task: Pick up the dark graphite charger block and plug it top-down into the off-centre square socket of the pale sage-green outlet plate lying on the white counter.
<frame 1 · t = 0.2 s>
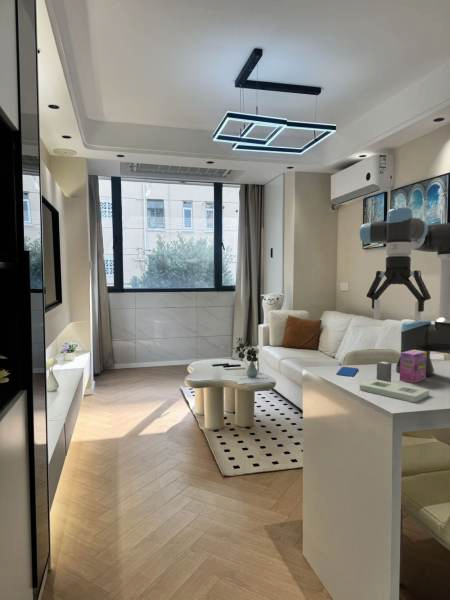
hand: (396, 320, 130), 28 cm above the table, fingers open, 13 cm apart
box: (412, 380, 161), on the table
outlet plate: (393, 392, 142), on the table
smartphone: (347, 373, 174), on the table
charger: (383, 382, 156), on the table
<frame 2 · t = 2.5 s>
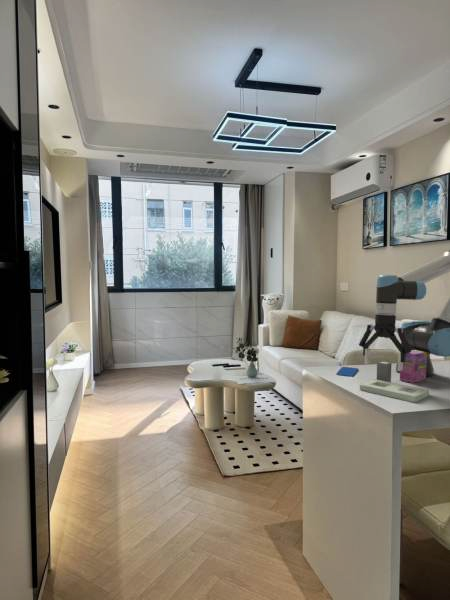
hand: (383, 367, 156), 6 cm above the table, fingers open, 13 cm apart
box: (412, 380, 161), on the table, touching arm
everything else where it was.
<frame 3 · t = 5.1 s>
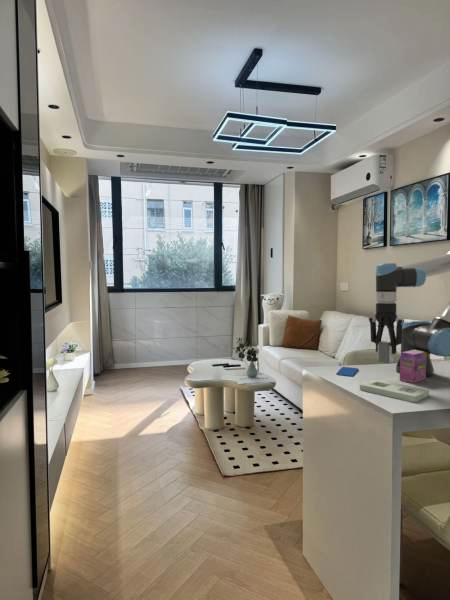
hand: (385, 360, 156), 9 cm above the table, fingers closed on charger, 4 cm apart
charger: (385, 361, 156), point 8 cm above the table, touching gripper
everything else where it was.
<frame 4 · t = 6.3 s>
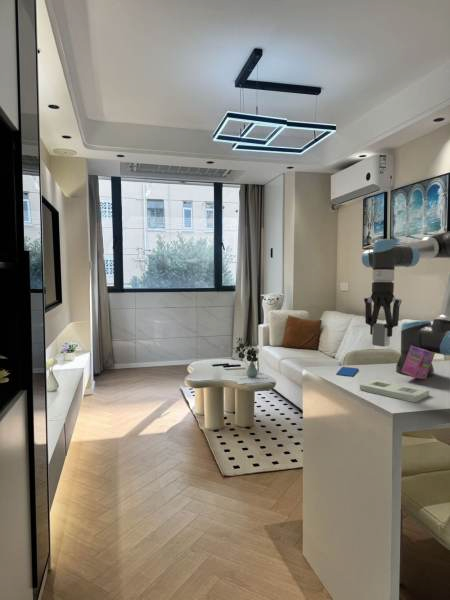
hand: (380, 344, 146), 17 cm above the table, fingers closed on charger, 4 cm apart
box: (413, 376, 160), point 1 cm above the table, touching arm
charger: (380, 345, 145), point 17 cm above the table, touching gripper
everything else where it was.
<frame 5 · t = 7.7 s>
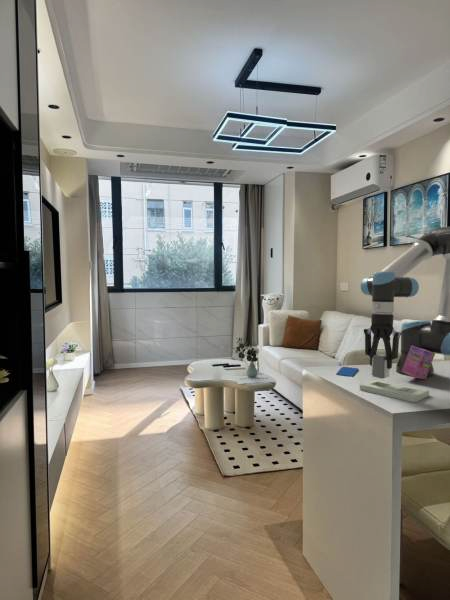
hand: (380, 375, 146), 5 cm above the table, fingers closed on charger, 4 cm apart
charger: (380, 376, 146), point 5 cm above the table, touching gripper
everything else where it was.
when the fingers open (2 cm above the table, at t = 8.8 s): charger drops 2 cm, resting in outlet plate.
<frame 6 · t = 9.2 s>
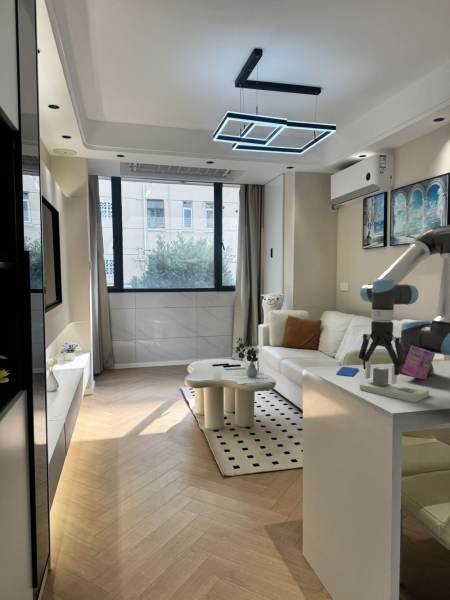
hand: (380, 380, 146), 3 cm above the table, fingers open, 9 cm apart
charger: (380, 389, 146), resting in outlet plate
everything else where it was.
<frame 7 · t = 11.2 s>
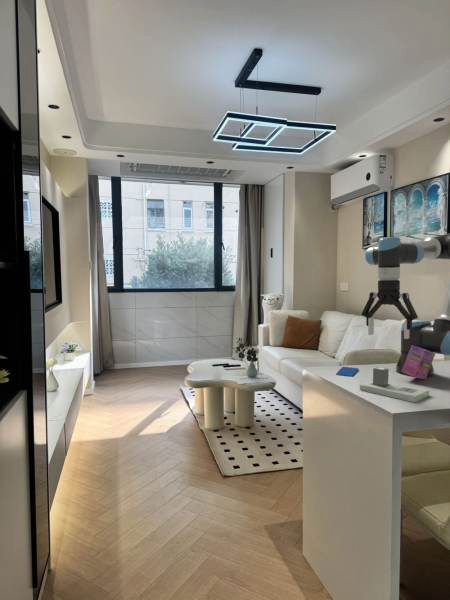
hand: (388, 336, 146), 20 cm above the table, fingers open, 13 cm apart
nothing on the table moved.
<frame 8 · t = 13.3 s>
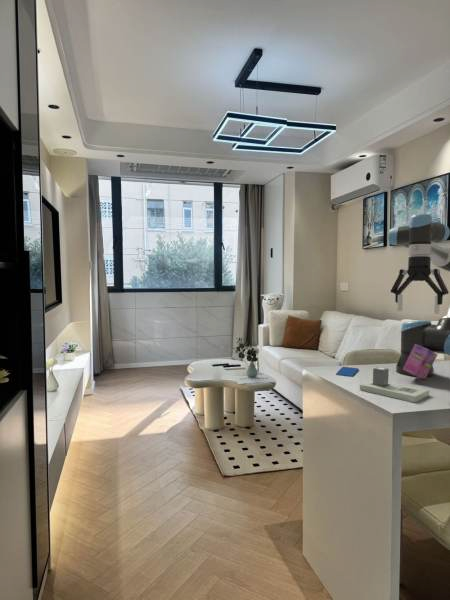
hand: (417, 312, 149), 29 cm above the table, fingers open, 13 cm apart
at the end: charger 0.1 cm from the target spot on the outlet plate, point 0.0 cm above the outlet plate's base; charger tilted 0°; the gripper is holding nothing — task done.
